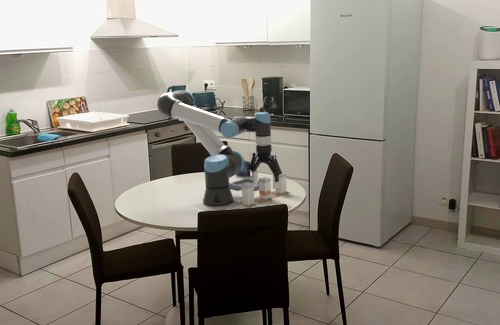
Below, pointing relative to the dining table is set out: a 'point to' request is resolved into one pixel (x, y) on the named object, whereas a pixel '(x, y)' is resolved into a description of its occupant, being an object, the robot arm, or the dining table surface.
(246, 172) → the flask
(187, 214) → the dining table surface
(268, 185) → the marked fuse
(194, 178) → the dining table surface
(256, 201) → the fuse board
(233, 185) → the tray
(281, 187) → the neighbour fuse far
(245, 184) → the block
